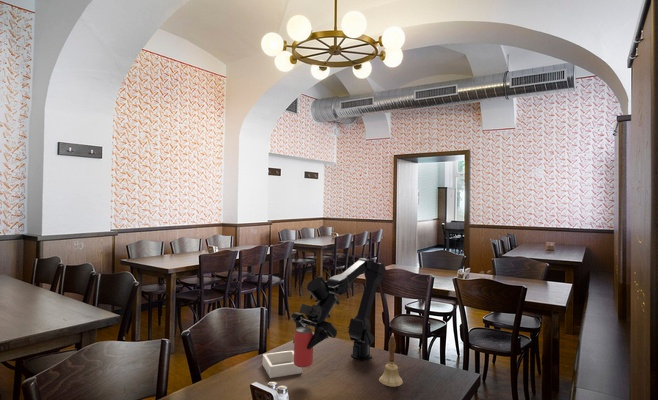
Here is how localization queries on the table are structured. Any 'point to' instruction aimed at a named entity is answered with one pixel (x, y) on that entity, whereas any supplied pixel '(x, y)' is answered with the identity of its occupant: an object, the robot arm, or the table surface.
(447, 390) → the table surface
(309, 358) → the beer can
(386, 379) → the hand bell
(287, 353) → the box
